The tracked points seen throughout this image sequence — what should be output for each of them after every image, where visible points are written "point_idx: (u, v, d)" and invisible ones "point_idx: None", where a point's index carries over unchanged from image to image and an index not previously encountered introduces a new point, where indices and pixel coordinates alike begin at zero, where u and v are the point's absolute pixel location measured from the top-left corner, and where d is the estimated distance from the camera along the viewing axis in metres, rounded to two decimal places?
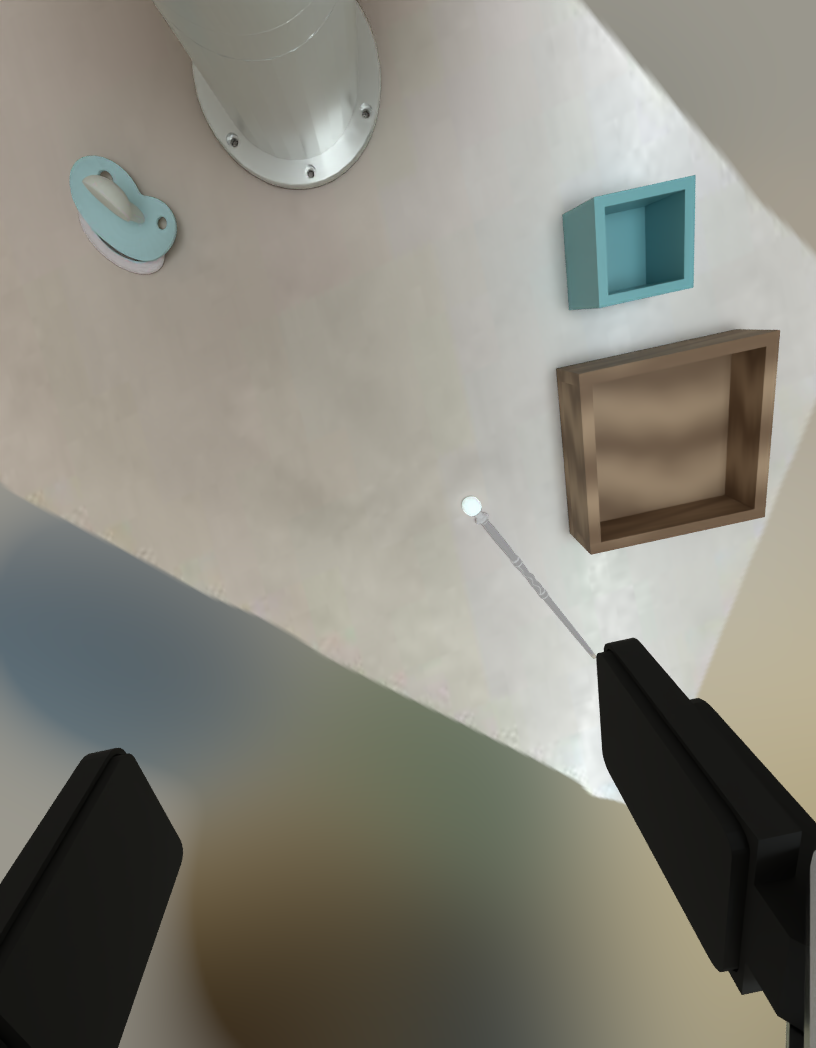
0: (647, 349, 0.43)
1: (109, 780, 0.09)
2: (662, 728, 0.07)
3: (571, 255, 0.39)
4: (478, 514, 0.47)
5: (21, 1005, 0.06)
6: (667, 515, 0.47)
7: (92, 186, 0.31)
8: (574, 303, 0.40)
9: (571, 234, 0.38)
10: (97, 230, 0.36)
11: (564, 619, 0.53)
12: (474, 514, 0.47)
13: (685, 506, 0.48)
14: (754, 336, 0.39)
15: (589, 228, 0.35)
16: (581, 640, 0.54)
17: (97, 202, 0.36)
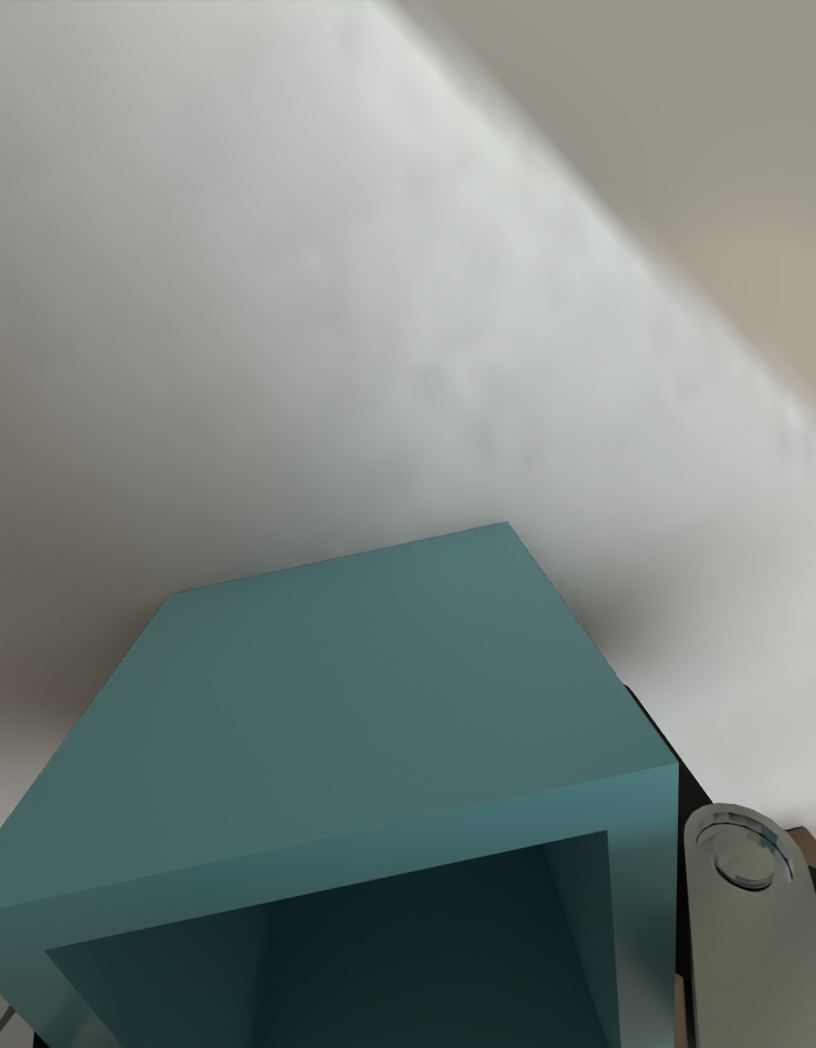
0: None
1: None
2: None
3: None
4: None
5: None
6: None
7: None
8: None
9: None
10: None
11: None
12: None
13: None
14: None
15: None
16: None
17: None
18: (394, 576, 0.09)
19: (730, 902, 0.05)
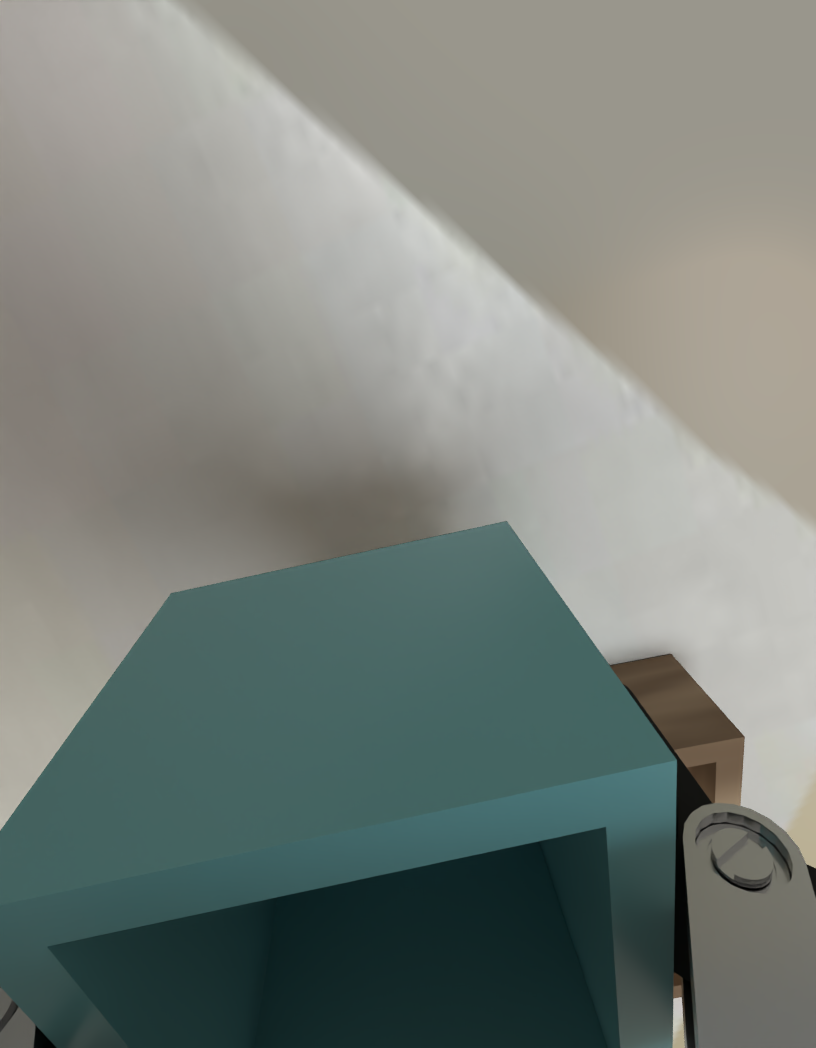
0: None
1: None
2: None
3: None
4: None
5: None
6: None
7: None
8: None
9: None
10: None
11: None
12: None
13: None
14: (689, 747, 0.18)
15: None
16: None
17: None
18: (394, 576, 0.09)
19: (729, 902, 0.05)
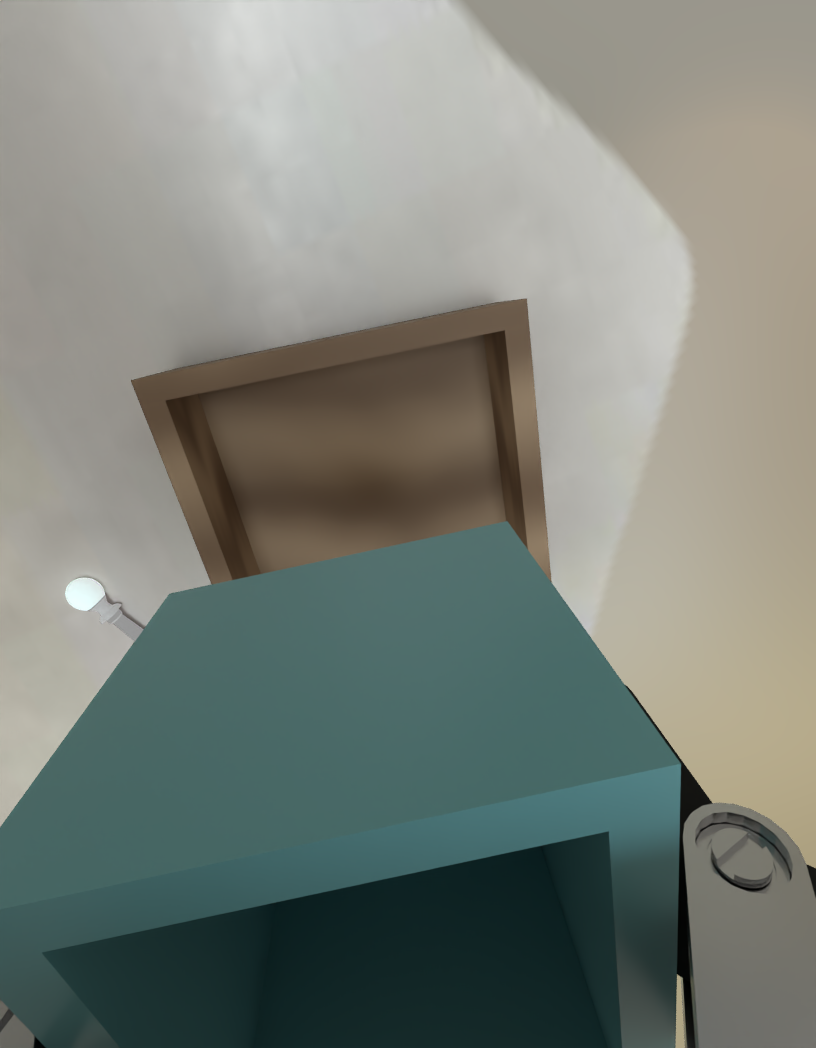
0: (333, 336, 0.24)
1: None
2: None
3: None
4: (93, 608, 0.28)
5: None
6: None
7: None
8: None
9: None
10: None
11: None
12: (85, 609, 0.27)
13: None
14: (477, 310, 0.20)
15: None
16: None
17: None
18: (394, 576, 0.09)
19: (729, 901, 0.05)
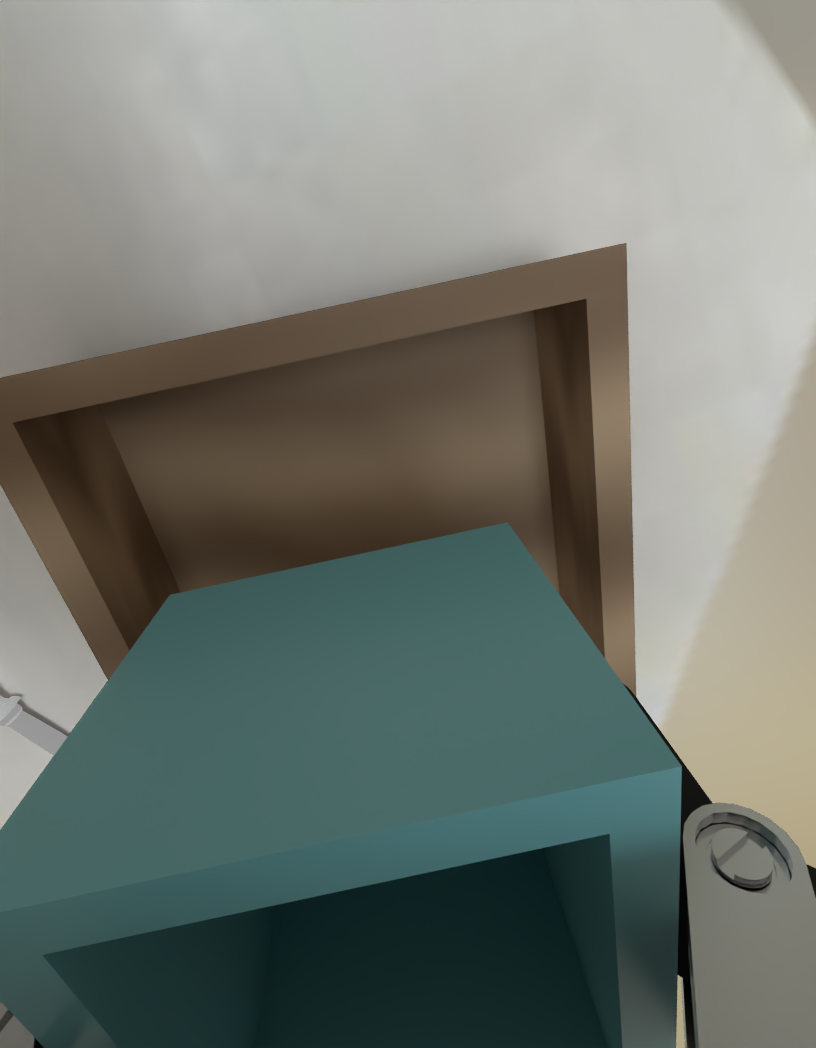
0: None
1: None
2: None
3: None
4: None
5: None
6: None
7: None
8: None
9: None
10: None
11: None
12: None
13: None
14: (541, 264, 0.12)
15: None
16: None
17: None
18: (395, 577, 0.09)
19: (729, 902, 0.05)
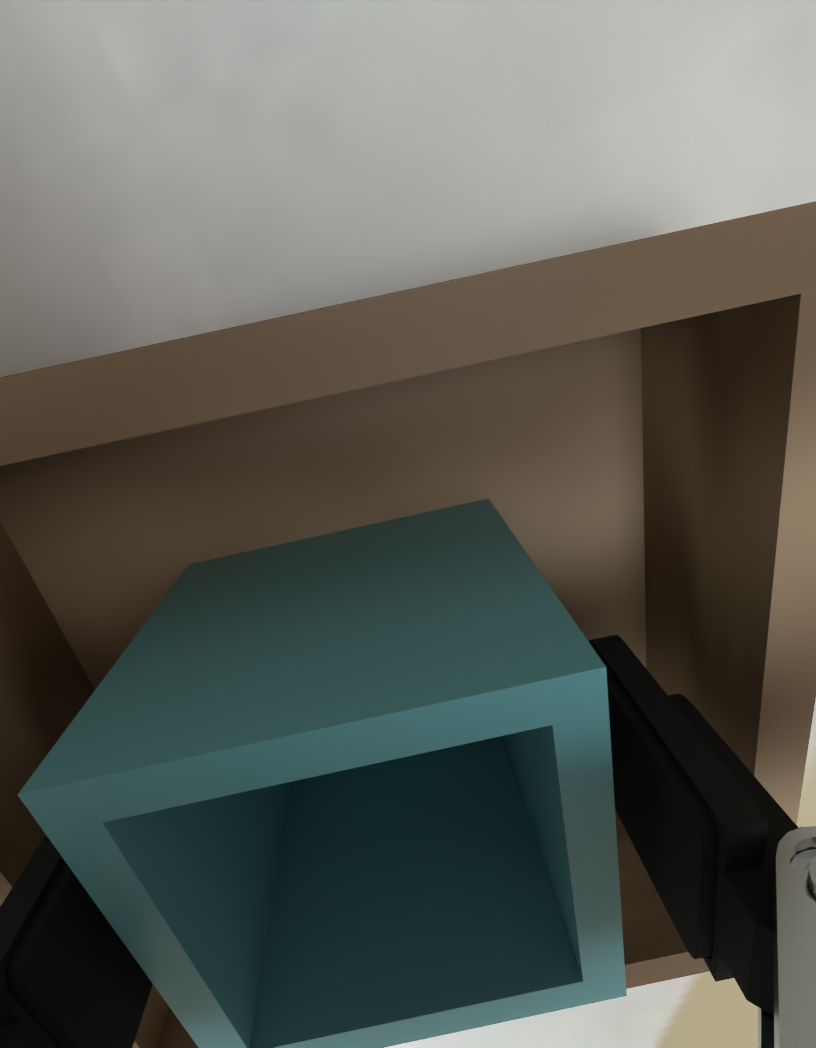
0: None
1: None
2: (640, 721, 0.08)
3: None
4: None
5: (49, 982, 0.06)
6: None
7: None
8: None
9: None
10: None
11: None
12: None
13: None
14: (724, 227, 0.06)
15: None
16: None
17: None
18: (387, 544, 0.10)
19: None
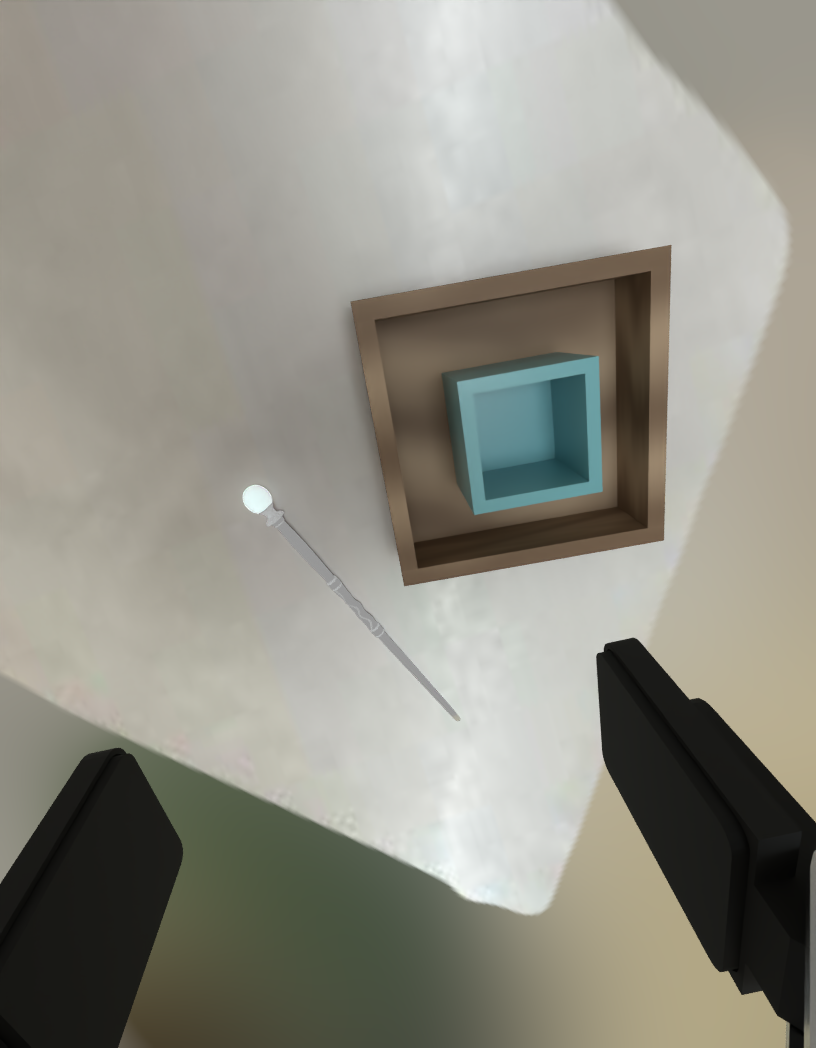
0: None
1: (109, 780, 0.09)
2: (662, 728, 0.07)
3: (451, 427, 0.30)
4: (265, 511, 0.32)
5: (21, 1005, 0.06)
6: (528, 532, 0.32)
7: None
8: (459, 482, 0.31)
9: (449, 403, 0.29)
10: None
11: (410, 666, 0.38)
12: (258, 511, 0.32)
13: (558, 520, 0.33)
14: (630, 253, 0.24)
15: (458, 414, 0.26)
16: (437, 696, 0.39)
17: None
18: (523, 360, 0.29)
19: None
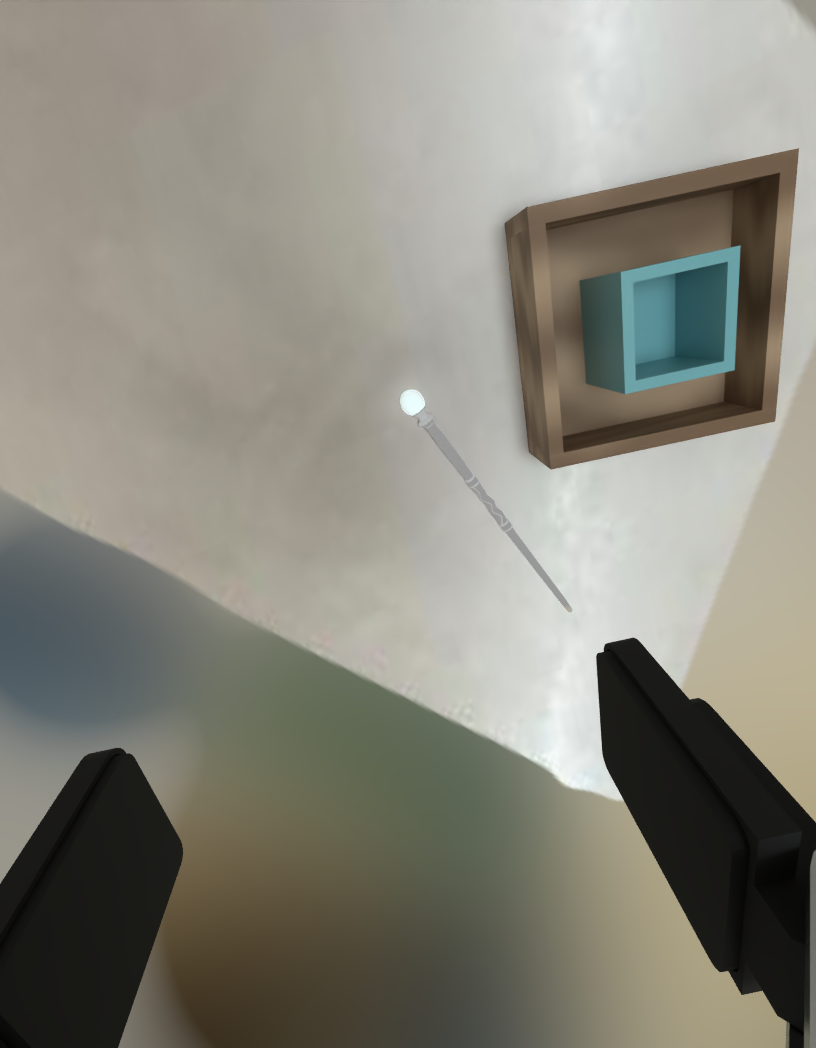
0: None
1: (109, 780, 0.09)
2: (662, 728, 0.07)
3: (590, 327, 0.34)
4: (420, 412, 0.37)
5: (21, 1005, 0.06)
6: (650, 423, 0.37)
7: None
8: (593, 379, 0.35)
9: (591, 304, 0.33)
10: None
11: (533, 559, 0.43)
12: (415, 412, 0.36)
13: (673, 414, 0.37)
14: (764, 157, 0.29)
15: (614, 304, 0.30)
16: (554, 588, 0.44)
17: None
18: None
19: None
